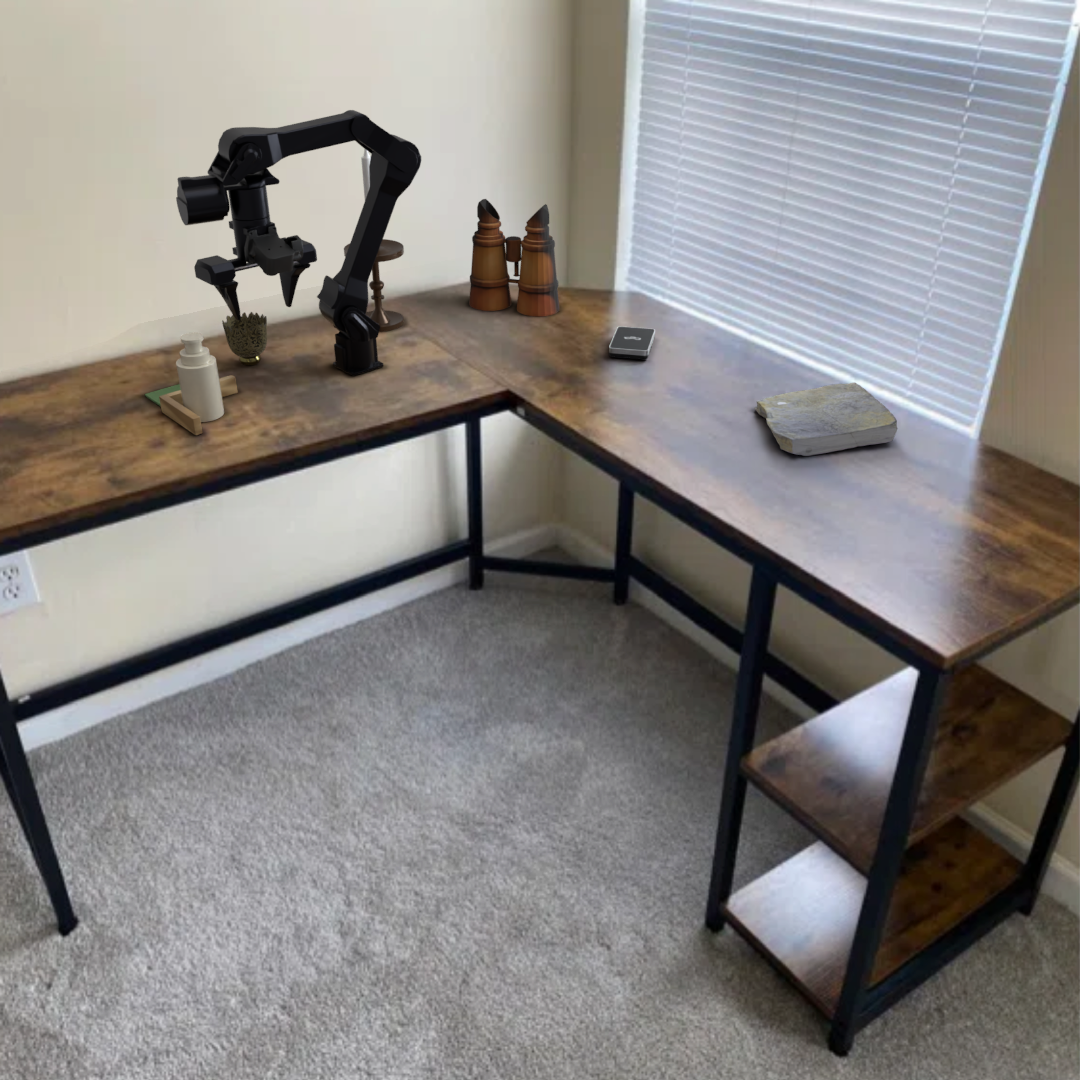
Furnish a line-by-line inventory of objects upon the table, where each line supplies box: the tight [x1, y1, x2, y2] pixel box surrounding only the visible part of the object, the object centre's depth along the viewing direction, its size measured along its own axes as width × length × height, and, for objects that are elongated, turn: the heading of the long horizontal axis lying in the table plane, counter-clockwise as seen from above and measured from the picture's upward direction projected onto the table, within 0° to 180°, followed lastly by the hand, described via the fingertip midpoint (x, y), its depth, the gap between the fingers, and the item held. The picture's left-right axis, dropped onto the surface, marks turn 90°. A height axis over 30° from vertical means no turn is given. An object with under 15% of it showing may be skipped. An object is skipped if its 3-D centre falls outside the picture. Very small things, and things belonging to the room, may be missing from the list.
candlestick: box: [343, 148, 405, 333], centre depth 203 cm, size 11×11×35 cm
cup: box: [221, 311, 268, 367], centre depth 193 cm, size 8×7×8 cm
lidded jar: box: [175, 331, 225, 423], centre depth 174 cm, size 6×6×13 cm
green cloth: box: [144, 383, 180, 408], centre depth 185 cm, size 12×6×1 cm, turn 132°
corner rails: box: [159, 374, 239, 436], centre depth 177 cm, size 13×11×3 cm
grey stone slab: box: [754, 382, 898, 457], centre depth 172 cm, size 20×5×17 cm
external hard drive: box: [608, 325, 656, 361], centre depth 200 cm, size 7×11×2 cm, turn 168°
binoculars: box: [468, 198, 561, 317], centre depth 215 cm, size 18×8×20 cm, turn 72°
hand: (263, 313), depth 181 cm, fingers open, 9 cm apart
